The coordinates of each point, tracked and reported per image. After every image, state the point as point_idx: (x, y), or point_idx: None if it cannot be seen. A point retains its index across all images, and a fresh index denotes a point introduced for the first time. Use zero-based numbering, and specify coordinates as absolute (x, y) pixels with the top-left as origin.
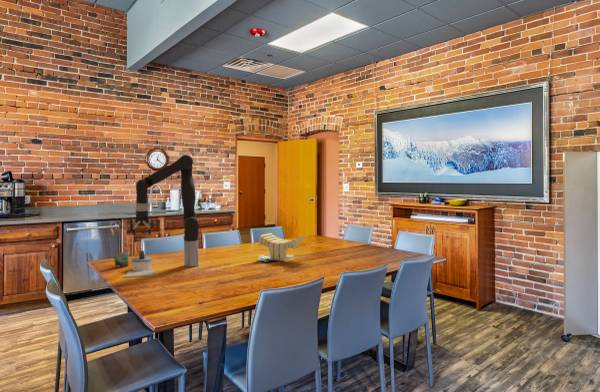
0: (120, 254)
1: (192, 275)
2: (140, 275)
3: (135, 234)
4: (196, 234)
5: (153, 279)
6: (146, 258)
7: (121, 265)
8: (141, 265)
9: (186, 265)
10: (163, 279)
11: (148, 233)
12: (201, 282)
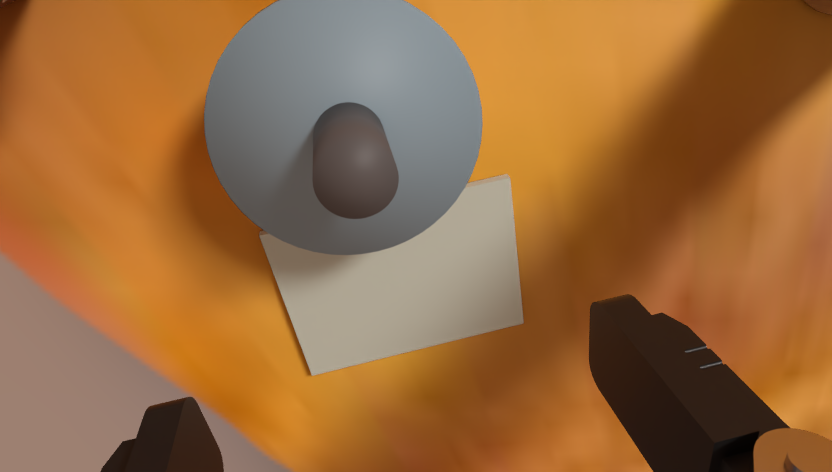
0: None
1: (799, 299)
2: (430, 344)
3: (212, 456)
4: None
5: (545, 393)
6: (411, 132)
7: (2, 6)
8: None
9: (814, 3)
10: None
11: (621, 406)
12: (819, 420)
